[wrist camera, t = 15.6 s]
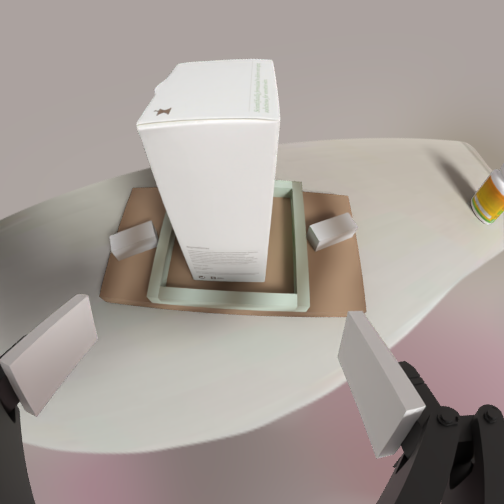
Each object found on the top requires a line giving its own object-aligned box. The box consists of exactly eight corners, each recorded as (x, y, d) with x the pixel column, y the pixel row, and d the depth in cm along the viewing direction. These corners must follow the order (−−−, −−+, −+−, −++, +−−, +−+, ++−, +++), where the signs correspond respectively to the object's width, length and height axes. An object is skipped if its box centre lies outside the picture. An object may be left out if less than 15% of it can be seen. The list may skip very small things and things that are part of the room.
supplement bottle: (489, 231, 29) (525, 192, 21) (466, 207, 31) (500, 164, 23) (494, 215, 31) (526, 178, 22) (473, 192, 33) (502, 153, 24)
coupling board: (106, 301, 23) (90, 288, 21) (136, 196, 30) (128, 177, 27) (360, 316, 23) (374, 305, 21) (344, 204, 30) (352, 184, 27)
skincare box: (264, 285, 23) (288, 125, 10) (187, 282, 23) (125, 130, 10) (265, 206, 27) (278, 56, 14) (199, 205, 27) (174, 58, 14)
